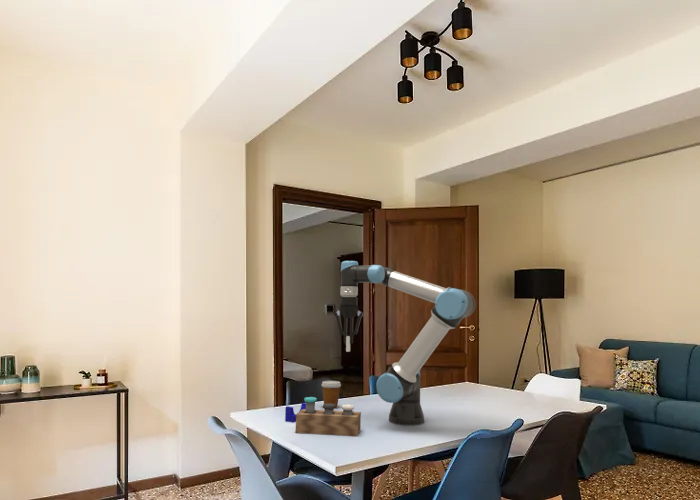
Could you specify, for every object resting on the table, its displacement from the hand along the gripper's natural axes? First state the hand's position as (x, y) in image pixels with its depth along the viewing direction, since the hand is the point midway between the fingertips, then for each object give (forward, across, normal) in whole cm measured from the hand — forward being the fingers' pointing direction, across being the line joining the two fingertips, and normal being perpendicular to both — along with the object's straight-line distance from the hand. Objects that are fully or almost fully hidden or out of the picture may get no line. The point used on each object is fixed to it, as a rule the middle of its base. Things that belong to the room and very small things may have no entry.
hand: (348, 351), depth 224 cm
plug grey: (+28, +3, -19) cm, 34 cm away
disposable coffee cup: (+30, -12, +27) cm, 42 cm away
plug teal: (+26, -12, -19) cm, 34 cm away
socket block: (+29, -5, -19) cm, 35 cm away
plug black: (+28, -5, -19) cm, 34 cm away
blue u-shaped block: (+30, -21, 0) cm, 37 cm away
